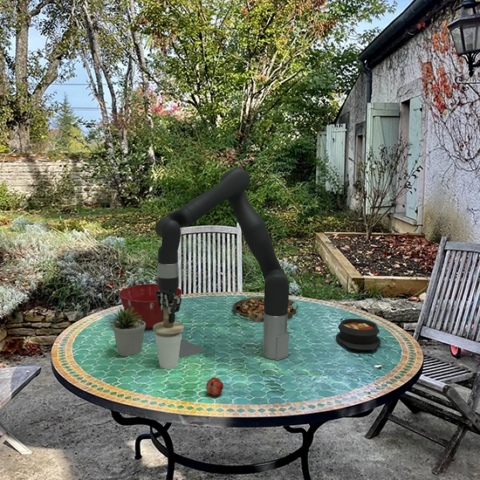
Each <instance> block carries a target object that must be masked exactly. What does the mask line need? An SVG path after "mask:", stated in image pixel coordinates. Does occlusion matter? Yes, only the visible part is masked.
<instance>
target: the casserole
mask: <svg viewBox="0 0 480 480" xmlns="http://www.w3.org/2000/svg"><path fill="white" fill-rule="evenodd" d="M337 328H338V330H339V332H337V334H336V335H335V339H336V340H337V341H338V342H340V343H342V344H343V345H344V346H346V348H349V349H352V350H358V351H373V350H375V349H377V348H378V346H379V344H381V342H382V341H381V338H380V337H379V336H378V334H379V333H380V329H379V327H378V325H377V323H375V322H373V321H372V320H368V319H364V318H363V319H362V318H346V319H343V320H341V321H340V324H339V325H337Z"/></svg>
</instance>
